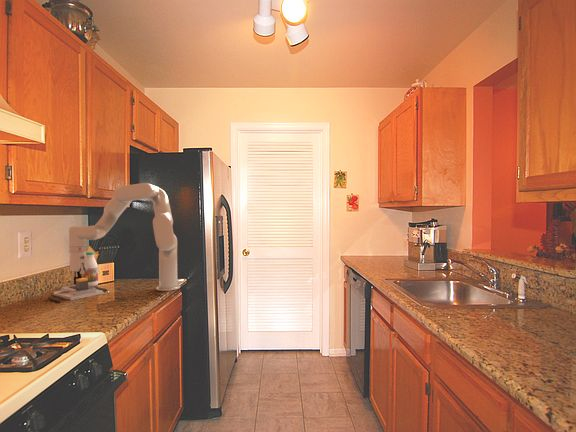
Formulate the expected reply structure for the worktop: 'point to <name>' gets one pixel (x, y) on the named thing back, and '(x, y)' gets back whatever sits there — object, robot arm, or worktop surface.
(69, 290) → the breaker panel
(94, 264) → the milk bottle
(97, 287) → the cord
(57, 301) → the cord
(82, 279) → the block
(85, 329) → the worktop surface
